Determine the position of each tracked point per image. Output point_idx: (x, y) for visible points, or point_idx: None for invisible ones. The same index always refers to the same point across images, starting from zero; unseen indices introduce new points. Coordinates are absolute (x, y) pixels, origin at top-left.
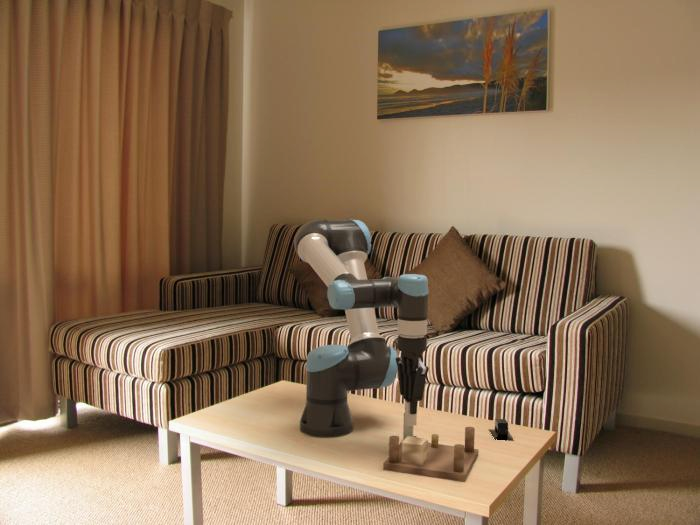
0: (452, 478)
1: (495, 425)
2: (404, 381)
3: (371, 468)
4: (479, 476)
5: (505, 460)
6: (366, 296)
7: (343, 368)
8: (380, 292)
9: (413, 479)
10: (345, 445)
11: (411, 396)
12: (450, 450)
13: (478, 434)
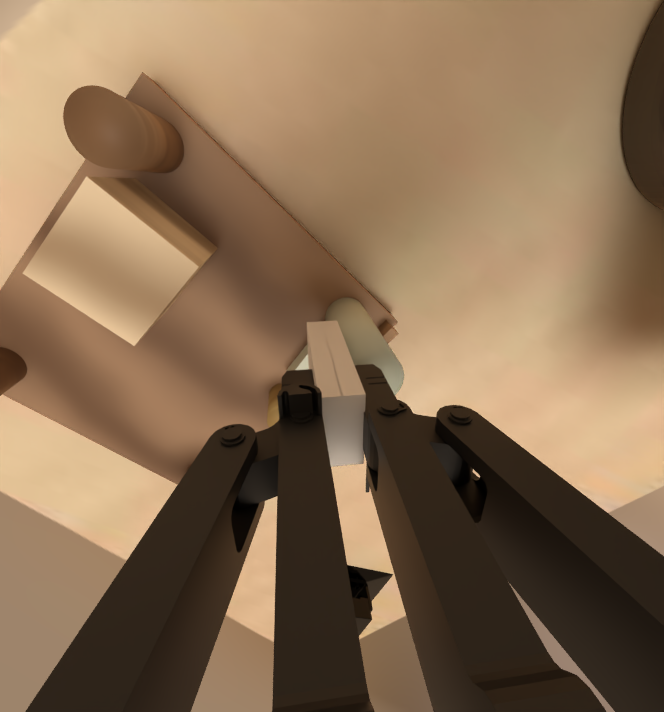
0: None
1: (363, 599)
2: (457, 535)
3: (183, 23)
4: (25, 418)
5: None
6: None
7: None
8: None
9: (7, 167)
10: (516, 55)
11: (278, 449)
12: (224, 425)
13: (370, 544)
